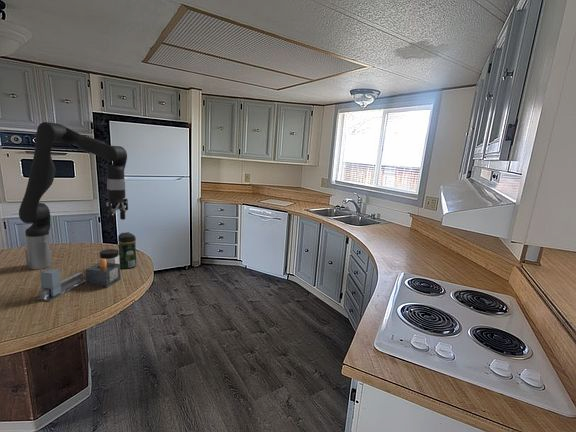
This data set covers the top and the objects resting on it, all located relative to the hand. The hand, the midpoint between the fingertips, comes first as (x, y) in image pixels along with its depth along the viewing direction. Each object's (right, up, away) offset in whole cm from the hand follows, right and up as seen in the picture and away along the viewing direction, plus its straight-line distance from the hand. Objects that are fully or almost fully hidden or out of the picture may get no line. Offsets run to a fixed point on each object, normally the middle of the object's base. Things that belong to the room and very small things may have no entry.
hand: (117, 221), depth 146 cm
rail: (-17, -30, -13) cm, 37 cm away
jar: (-8, -27, +7) cm, 29 cm away
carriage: (-17, -32, -19) cm, 41 cm away
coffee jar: (-5, -25, +19) cm, 32 cm away
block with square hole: (-5, -29, -3) cm, 30 cm away
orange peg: (-5, -26, -3) cm, 27 cm away
